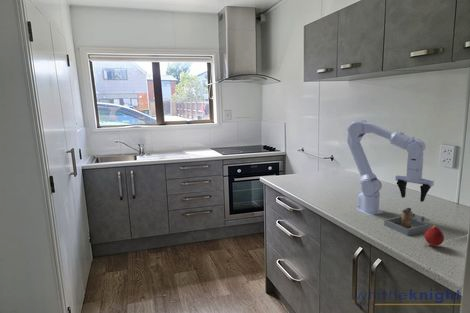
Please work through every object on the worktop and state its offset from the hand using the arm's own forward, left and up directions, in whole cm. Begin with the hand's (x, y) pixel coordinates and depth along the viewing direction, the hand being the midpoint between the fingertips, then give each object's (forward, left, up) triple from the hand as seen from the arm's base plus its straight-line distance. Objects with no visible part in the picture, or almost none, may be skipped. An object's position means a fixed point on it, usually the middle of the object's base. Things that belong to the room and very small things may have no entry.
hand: (412, 199), depth 132 cm
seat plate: (-1, +3, -10) cm, 10 cm away
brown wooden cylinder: (+5, -9, -9) cm, 14 cm away
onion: (+20, -13, -10) cm, 26 cm away
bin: (+5, -9, -10) cm, 15 cm away
